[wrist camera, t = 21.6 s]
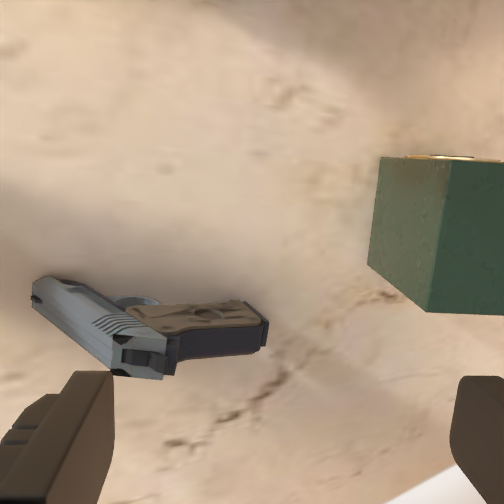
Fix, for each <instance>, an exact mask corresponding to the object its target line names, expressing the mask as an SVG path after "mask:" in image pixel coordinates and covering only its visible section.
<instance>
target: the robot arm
mask: <svg viewBox="0 0 504 504" xmlns="http://www.w3.org/2000/svg"><path fill="white" fill-rule="evenodd" d="M114 440H115V422H114V381H113V374H112V372H111V371H75V372H74V373H73V374H72V376H71V377H70V379H69V380H68V382H67V384H66V385H65V387H64V388H63V390H62V391H61V393H60V394H46V395H44V396H43V397H42V398H40V399H39V400H37V401H36V402H34V403H33V404H31V405H30V406H28V407H27V408H25V410H24V411H23V412H22V414H21V415H20V416H19V418H18V419H17V420H16V421H15V423H14V424H13V425H12V429H9V431H8V432H7V433H6V435H5V436H4V437H3V439H2V440H1V443H0V504H97V501H98V499H99V496H100V493H101V490H102V487H103V484H104V481H105V479H106V476H107V473H108V470H109V467H110V464H111V460H112V456H113V449H114ZM450 448H451V452H452V455H453V457H454V459H455V461H456V463H457V465H458V466H459V467H460V468H461V470H462V471H463V473H464V474H465V475H466V477H467V478H468V479H469V480H470V482H471V483H472V484H473V486H474V487H475V488H476V490H477V491H478V492H479V494H480V495H481V496H482V497H483V499H484V500H485V501H486V503H487V504H504V379H503V378H501V377H499V376H464V377H463V378H462V379H461V380H460V382H459V385H458V390H457V396H456V401H455V407H454V413H453V418H452V424H451V430H450Z"/></svg>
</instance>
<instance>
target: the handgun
mask: <svg viewBox="0 0 504 504" xmlns="http://www.w3.org/2000/svg"><path fill="white" fill-rule="evenodd" d="M31 300H32V308H34V309H35V310H36V311H37V312H39V313H40V314H41V315H43V316H44V317H45V318H46V319H48V320H49V321H50V322H51V323H53V324H54V325H55V326H56V327H58V328H59V329H60V330H61V331H63V332H64V333H65V334H66V335H68V336H69V337H70V338H71V339H73V340H74V341H75V342H76V343H78V344H79V345H80V346H81V347H83V348H84V349H85V350H87V351H88V352H89V353H90V354H92V355H93V356H94V357H95V358H97V359H98V360H99V361H100V362H102V363H103V364H104V365H105V366H107V367H108V368H109V369H110V371H111V372H112V374H113V375H115V376H125V377H135V378H145V379H155V380H162V379H163V375H172V376H174V374H175V370H176V366H177V363H178V362H181V361H184V360H190V359H202V358H213V357H225V356H236V355H248V354H253V353H255V352H257V351H259V350H260V346H261V347H263V346H266V340H267V334H268V328H269V321H268V320H266V319H265V318H264V317H263V316H262V315H261V314H259V313H258V312H257V311H256V310H255V309H254V308H252V307H251V306H250V305H249V304H248V303H247V302H241V301H240V300H230V301H229V302H227V303H216V304H177V305H162V304H161V303H160V302H159V301H157V300H155V299H152V298H148V297H142V296H103V295H102V294H100V293H98V292H97V291H95V290H93V289H92V288H90V287H88V286H87V285H85V284H82V283H79V282H75V281H69V280H56V279H55V278H53V277H52V276H48V277H43V278H41V279H39V280H37V281H35V282H33V283H32V296H31Z"/></svg>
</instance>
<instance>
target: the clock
mask: <svg viewBox="0 0 504 504" xmlns="http://www.w3.org/2000/svg"><path fill="white" fill-rule="evenodd" d="M367 265H368V266H370V267H371V268H372V269H373V270H375V271H376V272H377V273H378V274H379V275H381V276H382V277H383V278H384V279H386V280H387V281H388V282H389V283H391V284H392V285H393V286H394V287H396V288H397V289H398V290H399V291H400V292H402V293H403V294H404V295H405V296H407V297H408V298H409V299H410V300H412V301H413V302H414V303H415V304H416V305H418V306H419V307H420V308H421V309H423V310H424V311H425V312H431V313H455V314H478V315H502V316H504V162H500V160H494V159H481V158H474V157H458V156H439V155H429V156H428V155H410V157H408V156H405V158H389V157H381V160H380V168H379V176H378V184H377V192H376V199H375V207H374V215H373V223H372V231H371V239H370V246H369V254H368V262H367Z"/></svg>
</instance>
